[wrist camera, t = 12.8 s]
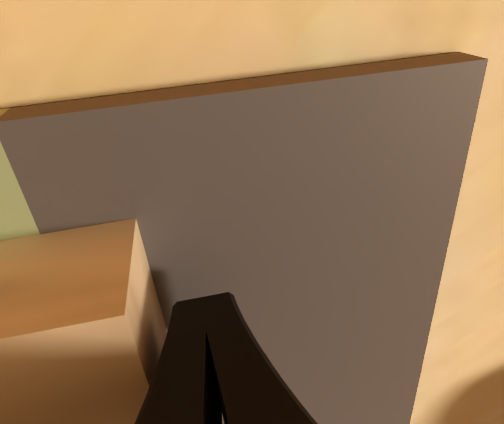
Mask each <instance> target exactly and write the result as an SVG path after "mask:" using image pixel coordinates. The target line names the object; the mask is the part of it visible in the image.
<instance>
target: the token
mask: <svg viewBox="0 0 504 424" xmlns="http://www.w3.org/2000/svg"><path fill="white" fill-rule="evenodd" d="M166 335H167V329H166V325H165V322H164V318H163V315H162V311H161V307H160V304H159V300H158V296H157V293H156V289H155V286H154V282H153V278H152V275H151V271H150V267H149V264H148V260H147V257H146V253H145V249H144V246H143V242H142V238H141V235H140V231H139V228H138V224H137V220H136V218H135V219H129V220H123V221H117V222H111V223H105V224H99V225H93V226H87V227H81V228H75V229H69V230H63V231H57V232H51V233H45V234H39V235H33V236H27V237H21V238H15V239H9V240H3V241H0V424H135V421H136V419H137V416H138V414H139V412H140V409H141V407H142V404H143V402H144V400H145V397H146V394H147V392H148V389H149V386H150V384H151V381H152V378H153V375H154V372H155V369H156V366H157V364H158V361H159V358H160V355H161V351H162V348H163V345H164V342H165V338H166Z"/></svg>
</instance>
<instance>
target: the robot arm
mask: <svg viewBox="0 0 504 424" xmlns="http://www.w3.org/2000/svg"><path fill="white" fill-rule="evenodd" d="M222 415H223V420H224V424H318V423H317V422H316V421H315V420H314V419H313V417H312V416H311V415H310V414H309V413H308V411H307V410H306V409H305V408H304V406H303V405H302V404H301V403H300V401H299V400H298V399H297V397H296V396H295V395H294V393H293V392H292V391H291V389H290V388H289V387H288V386H287V384H286V383H285V382H284V380H283V379H282V377H281V376H280V375H279V373H278V372H277V370H276V369H275V368H274V366H273V365H272V363H271V362H270V360H269V359H268V357H267V356H266V354H265V353H264V351H263V350H262V348H261V347H260V345H259V343H258V342H257V340H256V339H255V337H254V335H253V334H252V332H251V330H250V328H249V327H248V325H247V323H246V321H245V319H244V317H243V315H242V313H241V311H240V309H239V307H238V305H237V302H236V300H235V297H234V295H233V294H231V293H230V292H226V293H220V294H215V295H210V296H204V297H199V298H194V299H188V300H183V301H177V302H176V303H175V304H174V305H173V307H172V313H171V318H170V323H169V327H168V331H167V335H166V338H165V342H164V345H163V348H162V351H161V355H160V358H159V361H158V364H157V366H156V369H155V372H154V375H153V378H152V381H151V384H150V386H149V389H148V392H147V394H146V397H145V400H144V402H143V404H142V407H141V409H140V412H139V414H138V416H137V419H136V421H135V424H222Z"/></svg>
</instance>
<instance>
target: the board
mask: <svg viewBox="0 0 504 424" xmlns="http://www.w3.org/2000/svg"><path fill="white" fill-rule="evenodd" d="M487 61H488V59H486V58H482V57H478V56H474V55H469V54H465V53H461V52H454V53H446V54H438V55H429V56H421V57H413V58H405V59H397V60H389V61H381V62H373V63H365V64H357V65H349V66H341V67H333V68H325V69H317V70H309V71H301V72H293V73H285V74H277V75H269V76H261V77H253V78H245V79H237V80H229V81H221V82H213V83H205V84H197V85H189V86H181V87H173V88H165V89H157V90H149V91H141V92H133V93H125V94H117V95H109V96H101V97H93V98H85V99H77V100H69V101H61V102H53V103H45V104H37V105H29V106H21V107H13V108H5V109H0V241H3V240H9V239H15V238H21V237H27V236H33V235H39V234H45V233H51V232H57V231H63V230H69V229H75V228H81V227H87V226H93V225H99V224H105V223H111V222H117V221H123V220H129V219H135V218H136V220H137V224H138V228H139V231H140V235H141V238H142V242H143V246H144V249H145V253H146V257H147V260H148V264H149V267H150V271H151V275H152V278H153V282H154V286H155V289H156V293H157V296H158V300H159V304H160V307H161V311H162V315H163V318H164V322H165V325H166V329H167V331H168V327H169V323H170V318H171V313H172V307H173V305H174V304H175V303H176V302H177V301H183V300H188V299H194V298H199V297H204V296H210V295H215V294H220V293H226V292H230V293H231V294H233V295H234V297H235V300H236V302H237V305H238V307H239V309H240V311H241V313H242V315H243V317H244V319H245V321H246V323H247V325H248V327H249V328H250V330H251V332H252V334H253V335H254V337H255V339H256V340H257V342H258V343H259V345H260V347H261V348H262V350H263V351H264V353H265V354H266V356H267V357H268V359H269V360H270V362H271V363H272V365H273V366H274V368H275V369H276V370H277V372H278V373H279V375H280V376H281V377H282V379H283V380H284V382H285V383H286V384H287V386H288V387H289V388H290V389H291V391H292V392H293V393H294V395H295V396H296V397H297V399H298V400H299V401H300V403H301V404H302V405H303V406H304V408H305V409H306V410H307V411H308V413H309V414H310V415H311V416H312V417H313V419H314V420H315V421H316V422H317V423H318V424H410V419H411V415H412V410H413V406H414V401H415V396H416V392H417V387H418V382H419V378H420V373H421V368H422V364H423V359H424V354H425V350H426V345H427V340H428V336H429V331H430V326H431V322H432V317H433V313H434V308H435V303H436V299H437V294H438V289H439V285H440V280H441V275H442V271H443V266H444V261H445V257H446V252H447V247H448V243H449V238H450V233H451V229H452V224H453V220H454V215H455V210H456V206H457V201H458V196H459V192H460V187H461V182H462V178H463V173H464V168H465V164H466V159H467V154H468V150H469V145H470V140H471V136H472V131H473V127H474V122H475V117H476V113H477V108H478V103H479V99H480V94H481V89H482V85H483V80H484V75H485V71H486V66H487ZM222 424H224V420H223V415H222Z"/></svg>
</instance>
